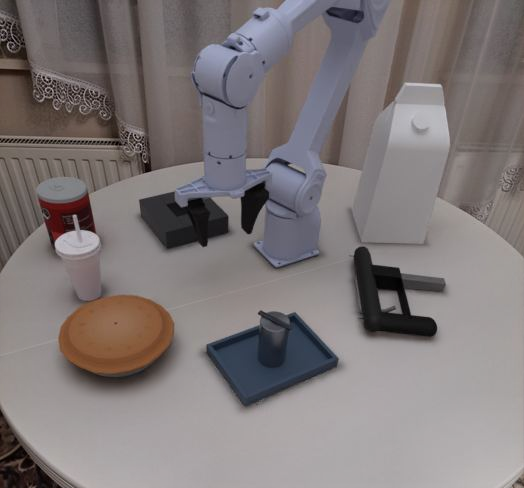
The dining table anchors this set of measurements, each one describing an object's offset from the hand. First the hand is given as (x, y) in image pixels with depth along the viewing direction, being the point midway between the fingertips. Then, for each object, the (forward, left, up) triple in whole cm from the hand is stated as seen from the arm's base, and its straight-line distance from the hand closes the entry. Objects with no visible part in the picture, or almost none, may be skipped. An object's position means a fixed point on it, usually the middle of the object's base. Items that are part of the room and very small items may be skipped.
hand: (224, 237), depth 77 cm
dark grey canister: (+2, +18, -9) cm, 20 cm away
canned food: (+18, -22, -10) cm, 30 cm away
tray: (+2, +18, -9) cm, 20 cm away
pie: (+20, +6, -10) cm, 23 cm away
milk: (-37, -2, -10) cm, 38 cm away
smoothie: (+20, -8, -10) cm, 24 cm away
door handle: (-24, +16, -10) cm, 30 cm away
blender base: (-2, -20, -9) cm, 22 cm away
